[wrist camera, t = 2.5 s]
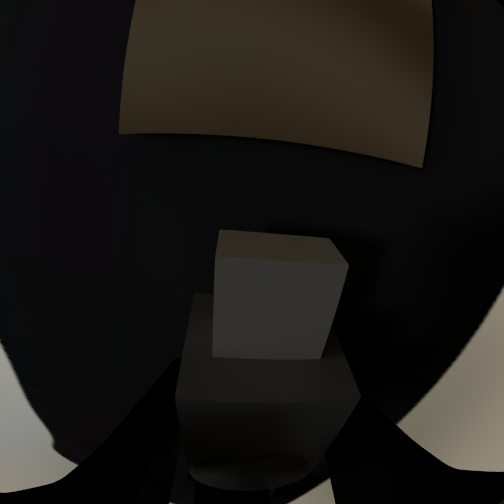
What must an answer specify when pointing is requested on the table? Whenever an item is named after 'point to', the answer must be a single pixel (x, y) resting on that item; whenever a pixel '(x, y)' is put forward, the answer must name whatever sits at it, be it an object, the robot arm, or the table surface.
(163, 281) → the table surface
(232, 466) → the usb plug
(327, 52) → the trivet
